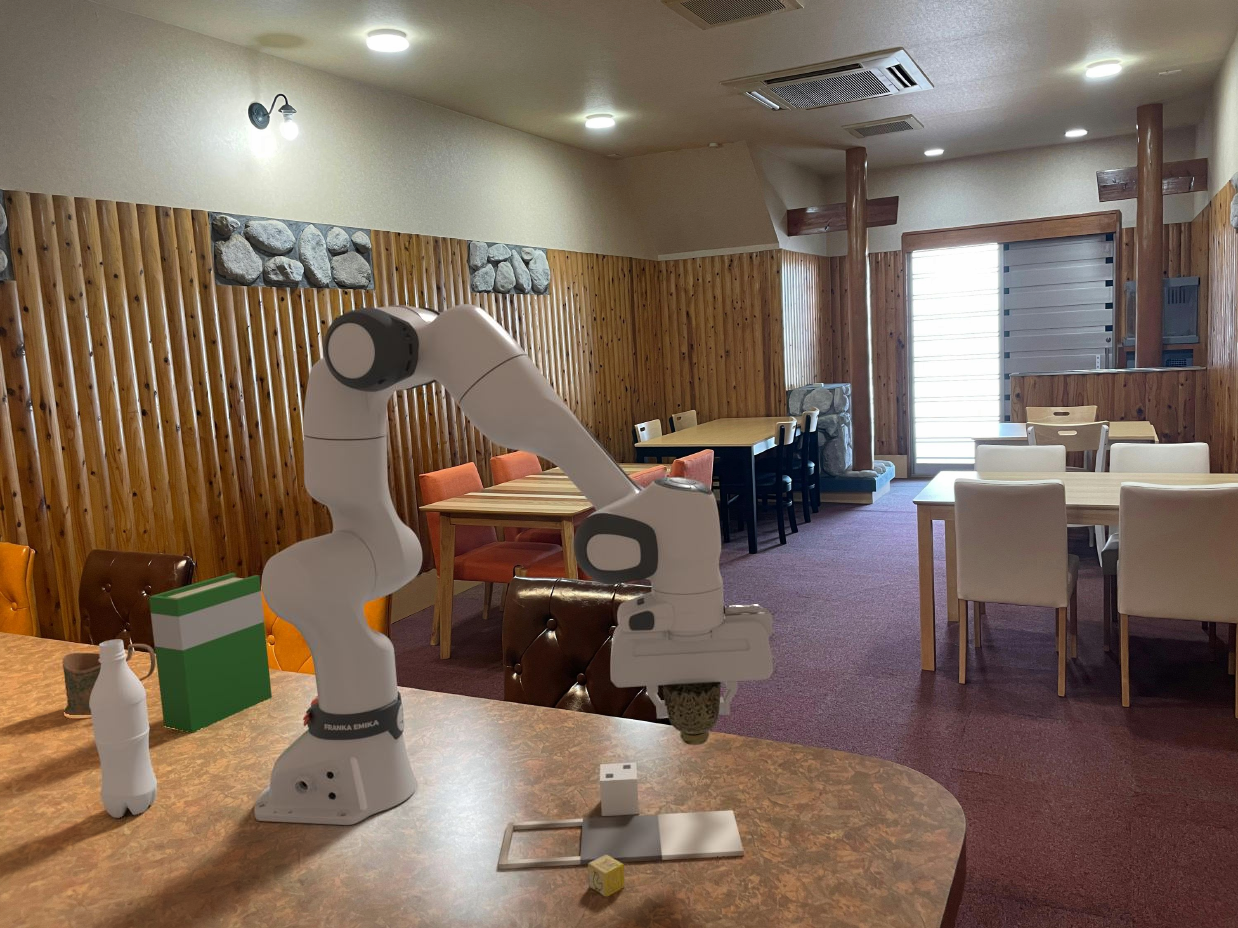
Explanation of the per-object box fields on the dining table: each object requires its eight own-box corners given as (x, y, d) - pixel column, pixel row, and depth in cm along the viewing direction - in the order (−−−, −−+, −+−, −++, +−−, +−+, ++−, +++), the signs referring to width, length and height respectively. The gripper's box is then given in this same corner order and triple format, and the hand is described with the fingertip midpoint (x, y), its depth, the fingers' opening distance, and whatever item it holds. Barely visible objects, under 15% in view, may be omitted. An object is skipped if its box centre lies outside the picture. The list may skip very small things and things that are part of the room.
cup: (720, 754, 110) (716, 691, 110) (660, 752, 112) (656, 690, 111) (727, 729, 118) (724, 669, 117) (671, 727, 119) (667, 669, 118)
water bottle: (170, 800, 135) (150, 636, 132) (130, 824, 128) (108, 652, 125) (133, 794, 137) (113, 633, 134) (91, 818, 130) (69, 649, 127)
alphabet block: (607, 876, 109) (606, 852, 108) (625, 886, 106) (624, 862, 106) (588, 887, 107) (586, 863, 106) (606, 898, 104) (604, 873, 104)
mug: (143, 716, 169) (135, 653, 168) (49, 720, 169) (41, 658, 168) (174, 693, 181) (167, 634, 179) (86, 697, 181) (78, 638, 180)
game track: (498, 868, 112) (498, 864, 111) (508, 826, 121) (507, 822, 121) (743, 855, 112) (743, 850, 111) (732, 814, 121) (732, 810, 121)
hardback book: (244, 692, 179) (232, 573, 176) (271, 697, 175) (259, 575, 172) (164, 727, 163) (148, 596, 160) (192, 733, 160) (177, 599, 157)
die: (601, 815, 123) (599, 780, 122) (602, 798, 128) (600, 763, 127) (639, 813, 123) (637, 778, 122) (637, 796, 128) (636, 761, 127)
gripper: (767, 596, 116) (771, 700, 118) (607, 605, 116) (613, 709, 118) (776, 610, 110) (780, 720, 111) (606, 619, 110) (613, 729, 111)
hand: (692, 714), depth 115 cm, fingers closed on cup, 6 cm apart
